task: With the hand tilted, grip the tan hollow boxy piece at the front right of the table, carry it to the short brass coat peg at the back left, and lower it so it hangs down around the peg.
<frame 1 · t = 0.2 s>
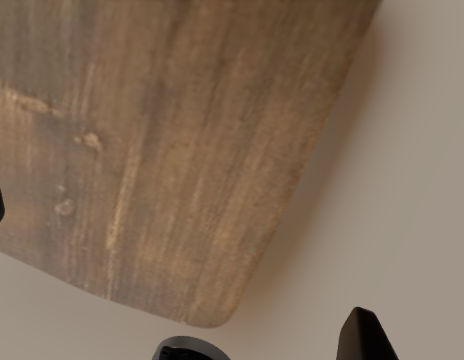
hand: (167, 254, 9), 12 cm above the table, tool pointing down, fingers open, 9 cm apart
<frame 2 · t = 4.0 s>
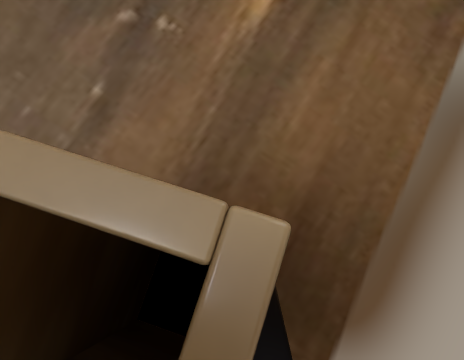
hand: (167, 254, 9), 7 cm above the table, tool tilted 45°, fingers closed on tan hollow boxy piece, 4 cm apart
tan hollow boxy piece: (190, 287, 15), on the table, touching gripper
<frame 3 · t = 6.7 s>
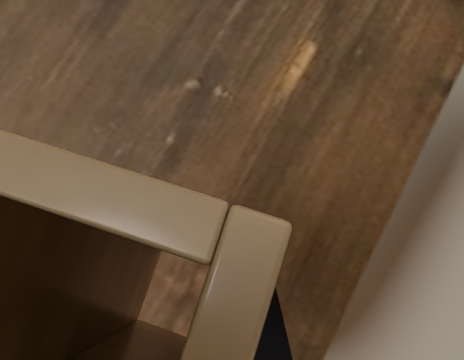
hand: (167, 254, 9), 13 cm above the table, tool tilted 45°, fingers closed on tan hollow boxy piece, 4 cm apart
tan hollow boxy piece: (190, 287, 15), point 7 cm above the table, touching gripper
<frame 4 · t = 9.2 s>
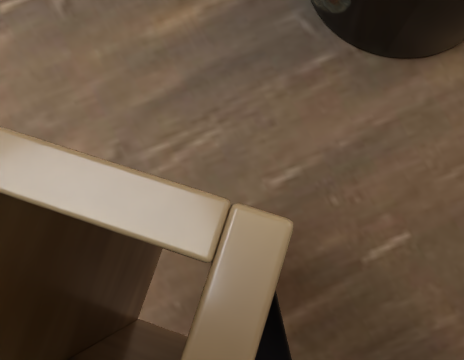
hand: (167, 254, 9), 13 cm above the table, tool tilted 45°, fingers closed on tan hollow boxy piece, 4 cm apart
tan hollow boxy piece: (190, 287, 15), point 7 cm above the table, touching gripper
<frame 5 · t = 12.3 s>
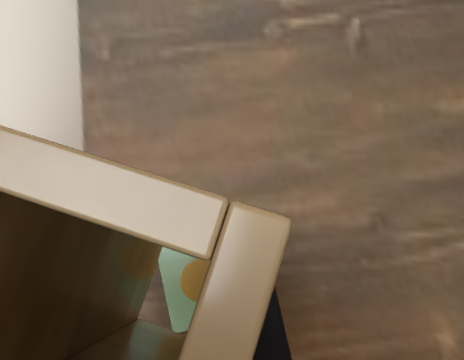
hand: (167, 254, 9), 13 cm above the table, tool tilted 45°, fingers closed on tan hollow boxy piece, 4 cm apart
coat peg: (208, 276, 22), on the table
tan hollow boxy piece: (190, 286, 15), point 7 cm above the table, touching gripper
when the fingers open (7 cm above the table, at t = 14.7 s): tan hollow boxy piece stays where it is, resting on coat peg.
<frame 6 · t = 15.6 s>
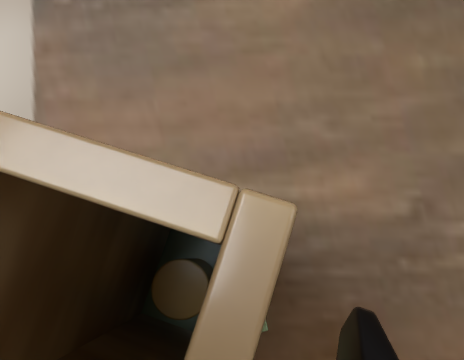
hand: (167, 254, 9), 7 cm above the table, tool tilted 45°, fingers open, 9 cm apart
coat peg: (195, 281, 16), on the table
tan hollow boxy piece: (193, 282, 16), point 1 cm above the table, touching coat peg
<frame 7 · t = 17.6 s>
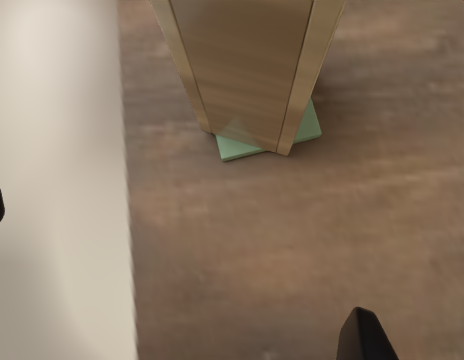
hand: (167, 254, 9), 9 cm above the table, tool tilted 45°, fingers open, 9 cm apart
coat peg: (258, 103, 20), on the table
tan hollow boxy piece: (258, 98, 19), point 1 cm above the table, touching coat peg
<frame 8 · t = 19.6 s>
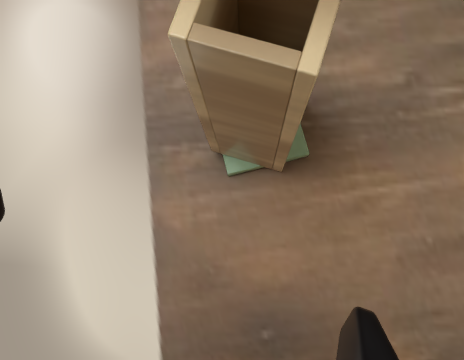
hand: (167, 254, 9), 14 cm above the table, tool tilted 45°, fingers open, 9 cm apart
coat peg: (257, 128, 24), on the table
tan hollow boxy piece: (258, 124, 23), point 1 cm above the table, touching coat peg
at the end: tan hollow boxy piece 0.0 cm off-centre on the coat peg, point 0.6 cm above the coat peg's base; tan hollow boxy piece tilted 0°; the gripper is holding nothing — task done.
